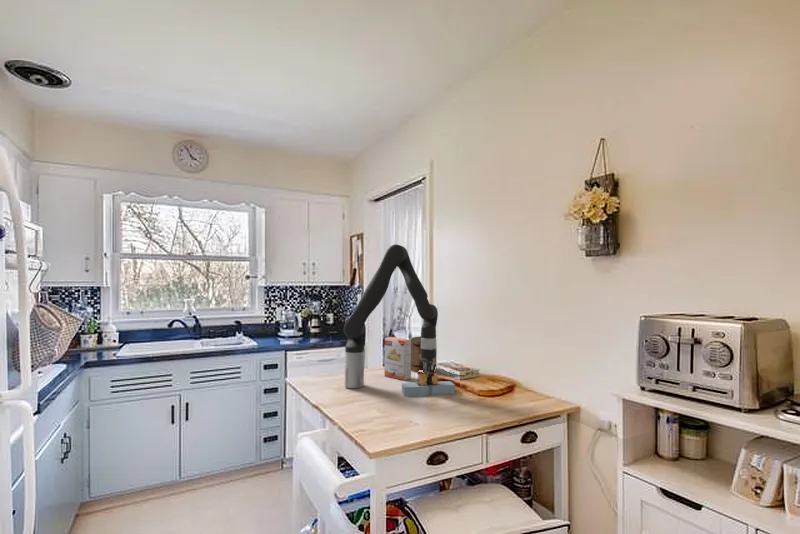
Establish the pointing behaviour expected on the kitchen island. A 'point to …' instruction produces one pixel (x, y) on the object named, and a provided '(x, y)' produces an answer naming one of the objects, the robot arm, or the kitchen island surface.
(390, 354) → the cracker box
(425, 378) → the clip
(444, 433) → the kitchen island surface
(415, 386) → the light blue long block
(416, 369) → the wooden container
